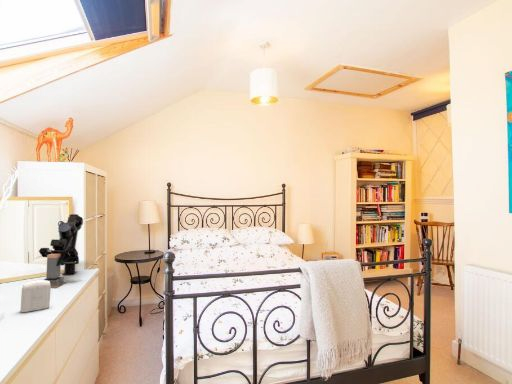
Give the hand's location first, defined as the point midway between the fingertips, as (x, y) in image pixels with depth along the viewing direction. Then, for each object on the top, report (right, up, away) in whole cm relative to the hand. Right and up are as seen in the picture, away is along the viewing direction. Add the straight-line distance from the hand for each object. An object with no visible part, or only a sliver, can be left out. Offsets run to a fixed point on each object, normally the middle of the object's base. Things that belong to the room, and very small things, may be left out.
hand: (52, 265), depth 166 cm
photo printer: (+15, -11, -34) cm, 39 cm away
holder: (0, -11, +1) cm, 11 cm away
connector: (0, -7, +1) cm, 7 cm away
